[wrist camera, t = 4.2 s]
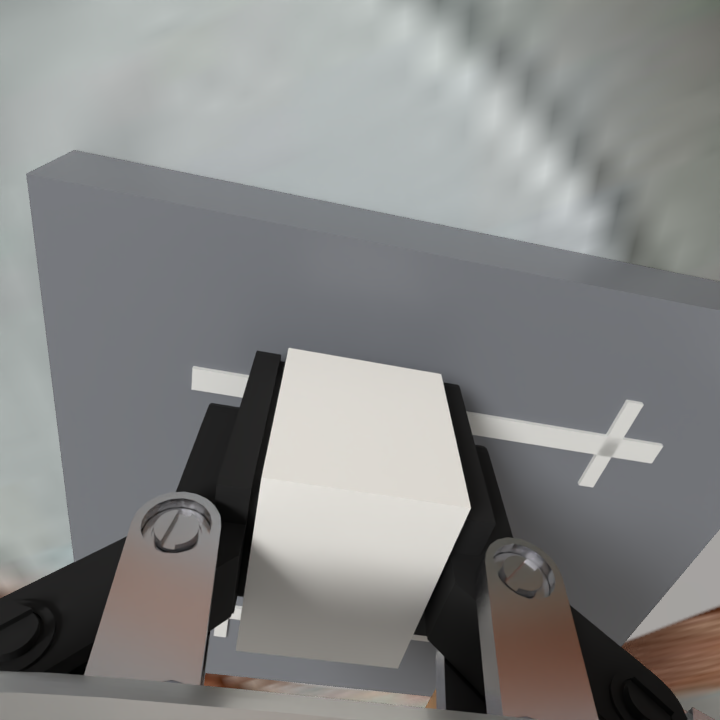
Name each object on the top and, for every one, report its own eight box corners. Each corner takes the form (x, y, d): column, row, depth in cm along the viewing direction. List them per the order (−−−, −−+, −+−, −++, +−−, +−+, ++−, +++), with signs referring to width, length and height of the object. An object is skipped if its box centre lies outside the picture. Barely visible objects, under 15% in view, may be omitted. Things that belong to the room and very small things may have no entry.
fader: (433, 342, 12) (471, 508, 8) (387, 486, 14) (397, 668, 10) (294, 317, 11) (261, 477, 7) (270, 469, 14) (235, 650, 10)
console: (813, 300, 14) (880, 344, 12) (551, 658, 23) (568, 713, 21) (73, 150, 12) (23, 175, 10) (108, 607, 21) (85, 663, 19)
